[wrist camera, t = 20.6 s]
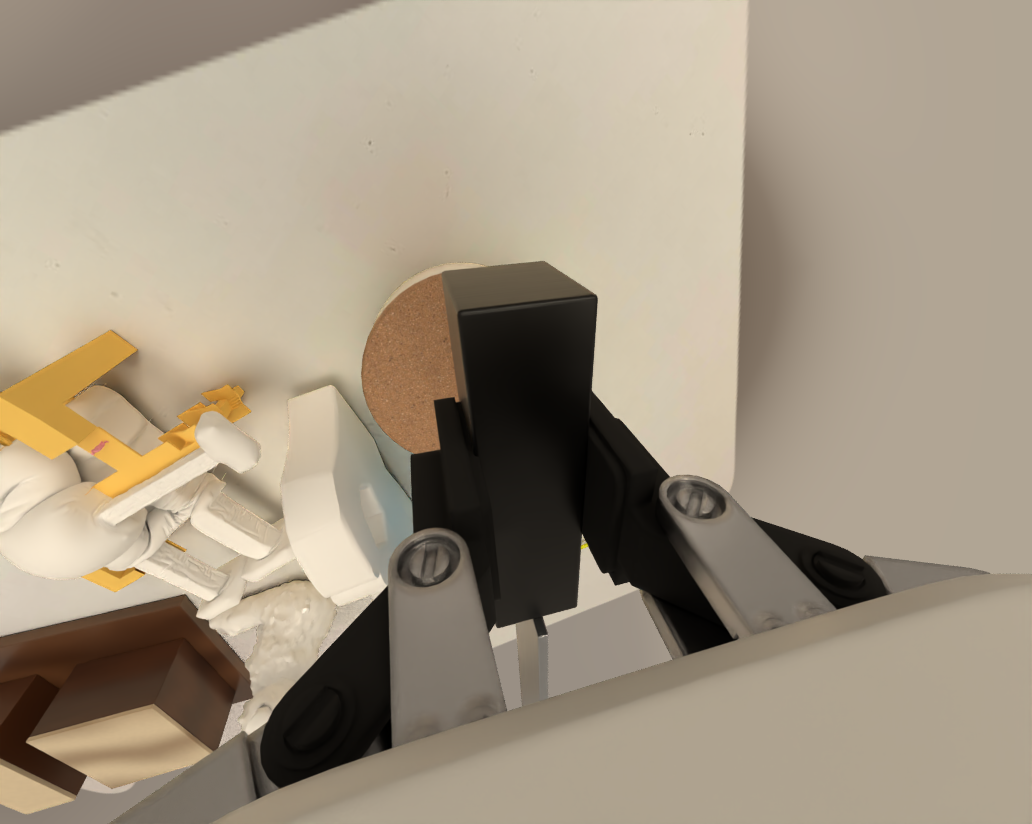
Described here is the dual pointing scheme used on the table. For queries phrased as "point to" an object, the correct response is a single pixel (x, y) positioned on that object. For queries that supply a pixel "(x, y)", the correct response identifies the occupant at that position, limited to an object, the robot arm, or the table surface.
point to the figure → (125, 484)
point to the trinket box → (411, 360)
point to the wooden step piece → (30, 751)
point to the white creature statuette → (278, 641)
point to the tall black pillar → (527, 434)
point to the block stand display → (130, 689)
